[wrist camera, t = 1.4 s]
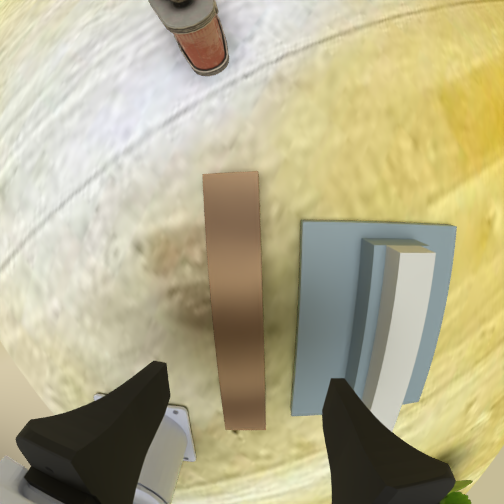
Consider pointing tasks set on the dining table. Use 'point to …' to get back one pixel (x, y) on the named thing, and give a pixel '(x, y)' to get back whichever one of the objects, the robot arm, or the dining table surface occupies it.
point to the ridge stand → (369, 311)
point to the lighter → (196, 32)
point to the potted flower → (457, 494)
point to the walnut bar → (236, 294)
